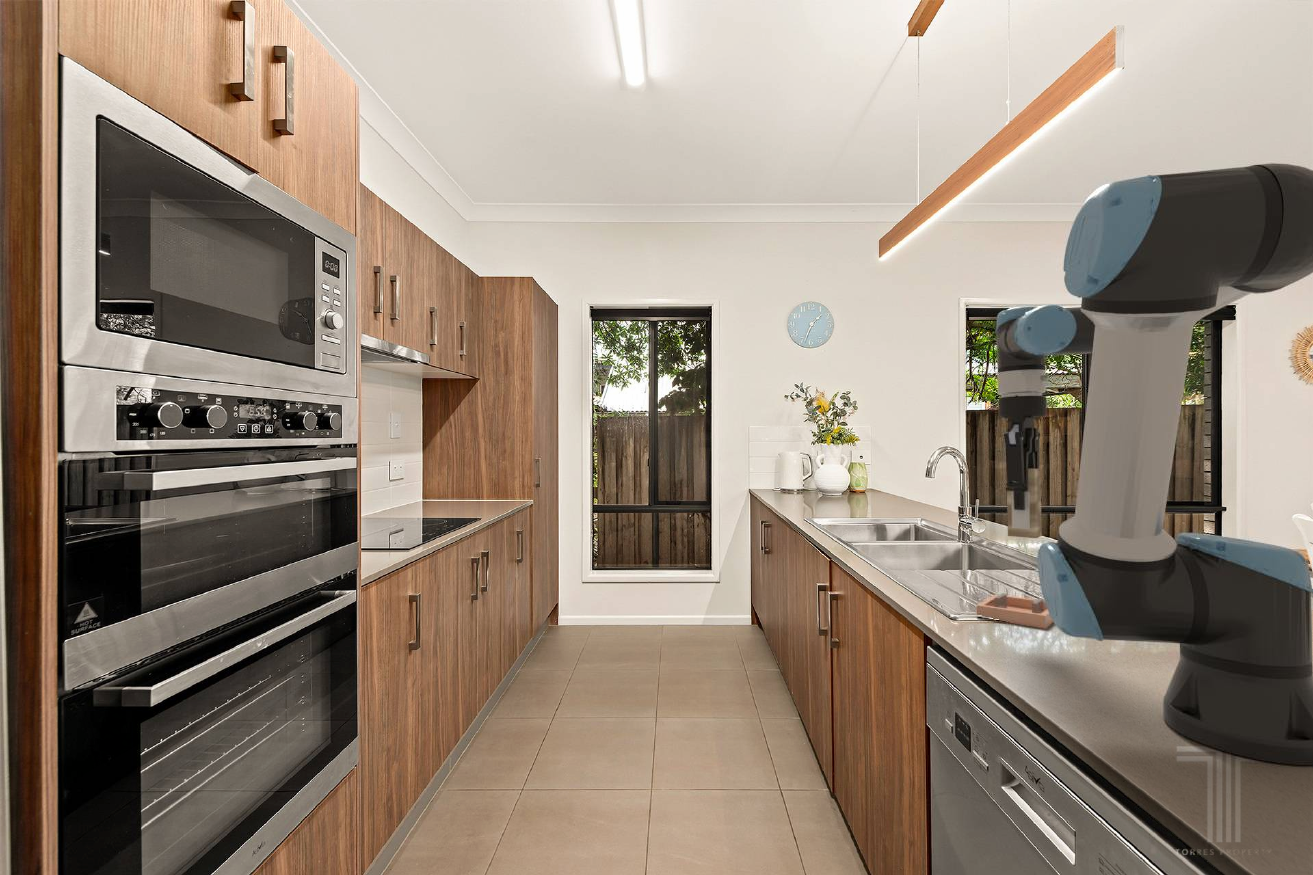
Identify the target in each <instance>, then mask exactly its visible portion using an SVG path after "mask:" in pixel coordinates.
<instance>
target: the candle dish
mask: <svg viewBox="0 0 1313 875" xmlns="http://www.w3.org/2000/svg"><path fill="white" fill-rule="evenodd" d="M977 615H982V616H985V617H991V618H993V619H999V620H1002V621H1006V622H1005V623H1008V622H1009V623H1008V624H1014V625H1015V624H1016V625H1021V626H1027V627H1033V628H1039V629H1045V630H1046V629H1047V628H1049V627H1050V626H1051V625H1052V624H1054V622H1053V620H1052V618H1051V616H1050V614H1049V612H1048V610H1047V607H1046V604H1045V601H1044V598H1040V597H1038V598H1037V599H1034V598H1033V599H1032V598H1027V597H1026V598H1025V597H1020V596H1012V595H1008V594H1007V593H1006V592H1005V593H1004V592H1002V593H1000V594H997V593H995V594H994V595H991V596H990V597H988V598H986V599H985V600H983V601H981V602H980V603H978V604H976V616H977ZM1002 621H1001V622H1002Z"/></svg>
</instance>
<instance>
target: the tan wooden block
mask: <svg viewBox="0 0 1313 875" xmlns="http://www.w3.org/2000/svg"><path fill="white" fill-rule="evenodd" d="M1005 471H1007V468H1006V469H1005ZM1041 490H1042V484H1041V468H1040V467H1039V468H1028V490H1027V492H1030V529H1019V528H1012V498H1011V491H1006V504H1007V505H1006V506H1007V507H1006V508H1007V511H1006V512H1007V515H1006V517H1007V536H1008V537H1015V538H1016V537H1017V538H1028V539H1038V538H1040V537H1042V535H1043V534H1042V533H1043V532H1042V530H1043V529H1042V495H1041V494H1042V491H1041Z"/></svg>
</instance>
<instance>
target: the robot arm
mask: <svg viewBox="0 0 1313 875" xmlns="http://www.w3.org/2000/svg"><path fill="white" fill-rule="evenodd" d="M1062 271H1063V272H1064V276H1063V278H1064V280H1063V281H1064V285H1065V286H1064V287H1065V289H1066V291H1068V293H1069V294H1070V295H1072V296H1074V297H1077V298H1078V299H1080V298H1081V304H1080V306H1077V307H1076V306H1075V307H1063V306H1059V305H1057V304H1046V305H1041V306H1018V307H1012V308H1008V309H1004V310H1002V311H1000V312H999V313H998V314H997V316H996V328H995V335H996V360H997V374H996V375H997V383H996V384H997V395H999V396H1001V397H999V399H998V400H997V410H998V411H997V413H998V417H999V418H1000V419H1010V421H1009V428H1007V431H1004V434H1003V439H1004V443H1005V462H1006V463H1005V464H1006V465H1005V466H1006V467H1005V468H1006V469H1007V470H1006V487H1005V491H1006V492H1007V491H1011V498H1012V528H1019V529H1030V492H1027V490H1028V468H1039V469H1040V440H1041V439H1040V437H1041V433H1040V431H1039V430H1038V427H1036V426H1035V419H1034V418H1044V417H1046V416H1047V414H1048V411H1047V408H1048V407H1047V406H1048V405H1047V403H1048V402H1047V397H1046V396H1045V395H1043V394H1044V393H1046V392H1047V386H1046V384H1047V383H1046V382H1047V381H1049V380H1050V376H1049V374H1048V375H1046V368H1047V367H1046V357H1047V356H1064V355H1065V356H1067V355H1068V356H1069V355H1085V354H1086V355H1087V354H1091V362H1090V370H1089V371H1090V372H1089V380H1088V389H1087V391H1088V392H1087V399H1086V409H1085V419H1084V427H1083V428H1084V429H1083V436H1082V445H1081V454H1080V455H1081V457H1080V465H1079V474H1078V484H1077V491H1076V492H1077V494H1076V503H1075V512H1074V515H1073V516H1071V517H1069V518H1068V519H1066V520H1064V521H1062V522H1061V523H1060V525H1059V526H1058V527H1059V528H1058V535H1057V542H1054V541H1048V542H1045V543H1042V544H1041V545H1040V546H1039V549H1038V551H1037V557H1036V558H1037V560H1036V561H1037V574H1038V578H1039V579H1038V581H1039V585H1040V589H1041V594H1042V596H1043V598H1042V599H1043V601H1045V604H1046V607H1047V610H1048V612H1049V614H1050V616H1051V618H1052V620H1053V624H1054V625H1055V626H1056V628H1057V629H1058V630H1060V632H1062V633H1063V634H1064V635H1067V636H1069V637H1073V638H1080V639H1081V638H1083V639H1093V640H1096V641H1099V642H1103V641H1105V640H1106V641H1123V642H1124V641H1125V642H1142V643H1143V642H1145V643H1146V642H1147V643H1164V644H1165V643H1166V644H1167V643H1168V644H1179V660H1178V663H1177V665H1176V667H1175V670H1174V673H1173V674H1172V678H1171V680H1170V682H1169V685H1168V687H1167V689H1166V692H1165V693H1164V694H1165V695H1164V696H1163V701H1162V705H1163V706H1162V707H1163V710H1162V711H1163V720H1164V722H1165V723H1166V724H1167V725H1168V726H1169V727H1170V728H1172V730H1174V731H1175V732H1177V733H1178V734H1180V735H1182V736H1184V737H1186V738H1189V739H1190V740H1193V741H1195V742H1198V743H1199V744H1202V745H1205V746H1207V747H1210V748H1213V749H1216V750H1219V751H1223V752H1226V753H1229V754H1233V755H1237V756H1240V757H1245V758H1249V759H1253V760H1259V761H1264V762H1270V763H1278V764H1284V765H1295V766H1297V765H1298V766H1299V765H1300V766H1313V631H1312V630H1313V626H1312V625H1313V623H1312V621H1313V620H1312V618H1313V617H1312V594H1313V586H1312V578H1311V573H1310V567H1309V563H1308V561H1307V560H1308V559H1307V558H1306V557H1305V556H1304V555H1303V554H1302V553H1300V552H1298V551H1297V550H1295V549H1291V548H1287V547H1285V546H1281V545H1275V544H1270V543H1264V542H1260V541H1253V540H1249V539H1248V540H1247V539H1241V538H1236V537H1229V536H1221V535H1215V534H1206V533H1205V534H1204V533H1196V532H1181V533H1178V534H1177V536H1176V539H1174V537H1172V536H1171V535H1170V534H1169V533H1168V532H1167V531H1166V530H1165V529H1164V528H1163V527H1164V521H1165V515H1166V508H1167V507H1166V506H1167V500H1168V495H1169V489H1170V488H1169V487H1170V480H1171V474H1172V468H1173V462H1174V455H1175V449H1176V448H1175V447H1176V442H1177V434H1178V430H1179V423H1180V422H1179V421H1180V417H1181V416H1180V415H1181V411H1182V403H1183V395H1184V391H1185V384H1186V383H1185V382H1186V379H1187V378H1186V376H1187V370H1188V364H1189V359H1190V358H1189V356H1190V350H1191V345H1192V337H1193V331H1194V326H1195V325H1196V324H1197V322H1199V321H1200V320H1202V319H1203V318H1204V317H1206V316H1208V315H1210V314H1212V313H1214V312H1216V311H1218V310H1220V309H1222V308H1224V307H1226V306H1228V305H1230V304H1232V303H1234V302H1237V301H1238V300H1241V299H1242V298H1244V297H1247V296H1248V295H1250V294H1268V293H1272V292H1275V291H1277V290H1278V291H1279V290H1281V289H1284V288H1285V287H1288V286H1290V285H1292V284H1294V283H1296V282H1299V281H1300V280H1302V279H1305V278H1307V277H1308V276H1310V275H1311V274H1313V169H1310V168H1307V167H1305V166H1301V165H1294V164H1288V163H1273V162H1271V163H1260V164H1253V165H1249V166H1248V165H1247V166H1241V167H1230V168H1229V167H1228V168H1218V169H1211V170H1208V169H1207V170H1202V171H1201V170H1200V171H1199V170H1197V171H1191V172H1189V171H1188V172H1178V173H1167V174H1157V175H1153V174H1147V175H1145V176H1140V177H1136V178H1135V177H1134V178H1129V179H1122V180H1117V181H1113V182H1108V183H1107V184H1104V185H1102V186H1100V187H1099V188H1097V189H1095V191H1094V192H1092V193H1091V194H1090V195H1089V196H1088V198H1086V200H1085V201H1084V203H1083V204H1082V205H1081V208H1080V209H1079V211H1078V212H1077V214H1076V216H1075V218H1074V221H1073V223H1072V226H1071V229H1070V231H1069V235H1068V238H1067V242H1066V246H1065V252H1064V257H1063V270H1062Z"/></svg>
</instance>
